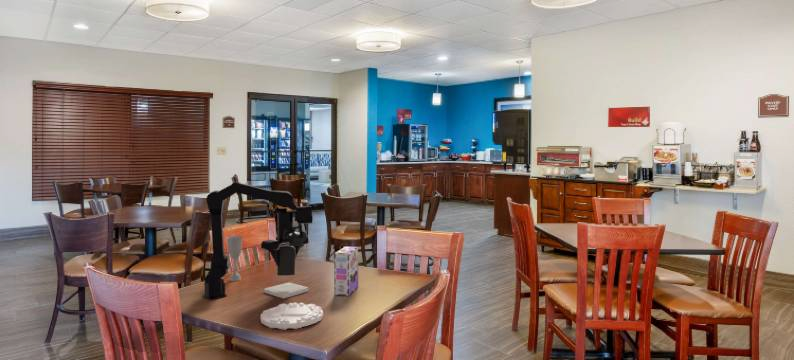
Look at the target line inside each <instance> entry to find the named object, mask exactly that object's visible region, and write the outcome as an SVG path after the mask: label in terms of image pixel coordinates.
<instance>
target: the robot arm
mask: <svg viewBox="0 0 794 360" xmlns="http://www.w3.org/2000/svg"><path fill="white" fill-rule="evenodd" d="M235 194H242V195H244V196H245V195H246V196H249V197H253V198H256V199H257V198H258V199H262V200H265V201H268V202H271V203H272V204H275V205H277V206H276V207H275V208H274V209H273V210H272V213H273V214H277V226H275V230H277V236H276V237H275V240H274V239H268V240H262V241H261V243H260V248H261V249H263V250H266V251H268V252H269V253H270V255H271V256H272V259H273V261H274V263H275V265H276V267H277V266H279V264H280V251H281V250H282V249H279V246H284V245H292V246H294V248H295V260H296V259H297V256H298V253H299V251H300V249H301V248H303V247H304V246H305V244H309V238H308V235H307V232H306V231H305V230H301V231H300V232H297V229H296V226H294V222H296V223H297V225H301V224H303V225H304V224H305V225H306V224H309V225H310V224H313V221H314V219H313V207H312V206H311V205H307V206H298V205H297V203H296V202H295V201H294V198H293V194H292V193H291V192H290V191H287V190H286V191H285V190H270V189H266V188H262V187H257V186H254V185H250V184H246V183H242V182H239V181H233V182H232V183H231V184H230V185H228V186H226V187H224V188H222V189H221V190H213V191H211V192H210V193H208V194H207V196H206V199H205V200H206V204H207V210H208V212H209V215H210V220H211V222H210V223H211V224H210V225H211V239H212V240H211V241H212V258H211V260H210V261H211V262H210V268H209V271H207V273H206V275H205V276H204V277H203V278H204V282H203V283H204V285H203V286H204V294H202V298H205V299H208V300H210V301H211V300H212V301H213V300H217V299H219V298H223V297H227V294H226V283H225V279H224V278H223V277H224V276H226V273H227V271H228V270H229V268H230V266H231V263H230V255H229V254H228V255H226V252H225V249H224V248H225V245H224V244H225V243H224V228H223V227H224V225H223V213H224V212H223V211H224V207H225V206H224V205H225V200H226V199H228V198H230V197H231V196H233V195H235ZM279 206H280V207H281V208H280V207H279ZM288 209H290V210H288Z"/></svg>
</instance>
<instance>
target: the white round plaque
mask: <svg viewBox="0 0 794 360" xmlns="http://www.w3.org/2000/svg"><path fill="white" fill-rule="evenodd" d="M323 317H324V311H323V308H322V307H321V306H319V305H316V304H315V303H309V304H305V303H304V302H299V303H298V302H288V304H286V303H280V304H278V305H277V306H275V307H270V308H269V309H265V310H263V312H262V313H261V314H260V324H262V325H264V326H265V327H268V328H270V329H272V328H273V329H278V330H287V329H293V330H297V329H298V328H300V329H302V327H307V326H310V325H313V324H316V323H319V322H320V321H322V319H323ZM318 321H319V322H318Z"/></svg>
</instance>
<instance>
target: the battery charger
mask: <svg viewBox="0 0 794 360" xmlns="http://www.w3.org/2000/svg"><path fill="white" fill-rule="evenodd" d="M279 249H282V250H281V251H280V264H279V266H277V265H276V268H277V269H276V274H277V276H279V277H281V276H295V275H296V259H295V248H294V246H292V245H289V244H286V245H280V246H279Z"/></svg>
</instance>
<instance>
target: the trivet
mask: <svg viewBox="0 0 794 360" xmlns="http://www.w3.org/2000/svg"><path fill="white" fill-rule="evenodd" d="M307 292H309V287H307V286H305V285H300V284H297V283H294V282H285V283H281V284H278V285H273V286H269V287H265V288H263V293H265V294H267V295H270V296H275V297H278V298H280V299H286V298H291V297H294V296H297V295H300V294H304V293H307Z"/></svg>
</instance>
